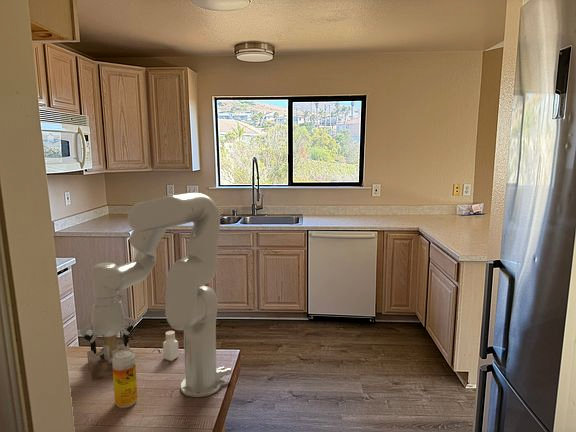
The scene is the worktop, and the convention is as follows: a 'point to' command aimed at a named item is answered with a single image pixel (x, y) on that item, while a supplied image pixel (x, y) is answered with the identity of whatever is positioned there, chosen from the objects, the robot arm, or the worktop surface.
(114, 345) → the sprinkles bottle
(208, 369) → the robot arm
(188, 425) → the worktop surface
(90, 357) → the open brown cardboard box
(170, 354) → the pepper shaker
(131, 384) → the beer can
